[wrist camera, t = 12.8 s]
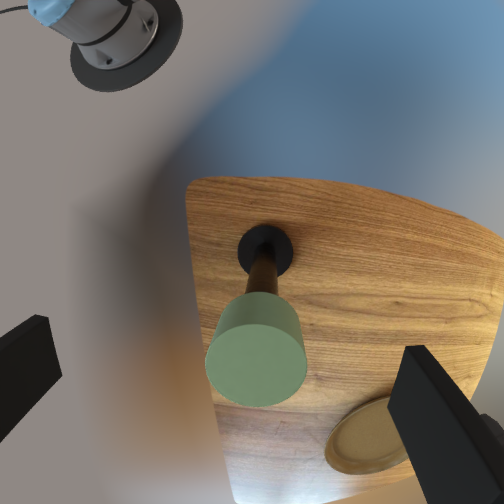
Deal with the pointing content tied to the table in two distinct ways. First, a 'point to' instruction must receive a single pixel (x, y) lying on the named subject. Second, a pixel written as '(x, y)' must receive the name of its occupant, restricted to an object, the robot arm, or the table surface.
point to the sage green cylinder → (257, 351)
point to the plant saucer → (365, 441)
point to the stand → (264, 257)
